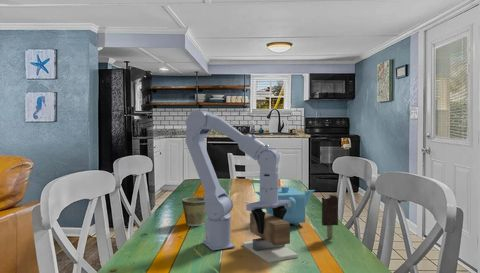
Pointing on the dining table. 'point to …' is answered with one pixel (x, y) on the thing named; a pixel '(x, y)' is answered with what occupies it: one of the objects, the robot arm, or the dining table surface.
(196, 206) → the plant pot
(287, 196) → the teakettle
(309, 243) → the dining table surface
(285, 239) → the walnut beam
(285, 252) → the fulcrum board
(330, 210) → the ice cream bar
